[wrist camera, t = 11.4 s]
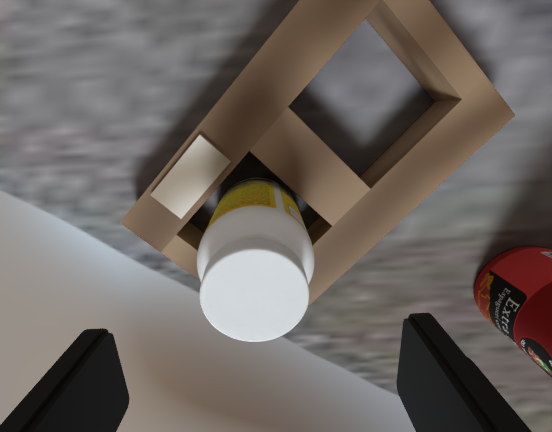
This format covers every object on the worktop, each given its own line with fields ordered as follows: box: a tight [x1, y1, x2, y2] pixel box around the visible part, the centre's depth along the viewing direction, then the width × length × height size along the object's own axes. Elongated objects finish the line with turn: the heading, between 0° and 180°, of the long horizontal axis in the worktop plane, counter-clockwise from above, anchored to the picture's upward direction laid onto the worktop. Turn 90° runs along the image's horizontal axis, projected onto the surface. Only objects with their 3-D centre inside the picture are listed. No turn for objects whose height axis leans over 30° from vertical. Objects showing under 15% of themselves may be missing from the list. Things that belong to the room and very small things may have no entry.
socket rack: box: [120, 0, 515, 307], centre depth 20 cm, size 14×22×3 cm, turn 137°
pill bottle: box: [197, 178, 314, 342], centre depth 18 cm, size 6×6×11 cm
